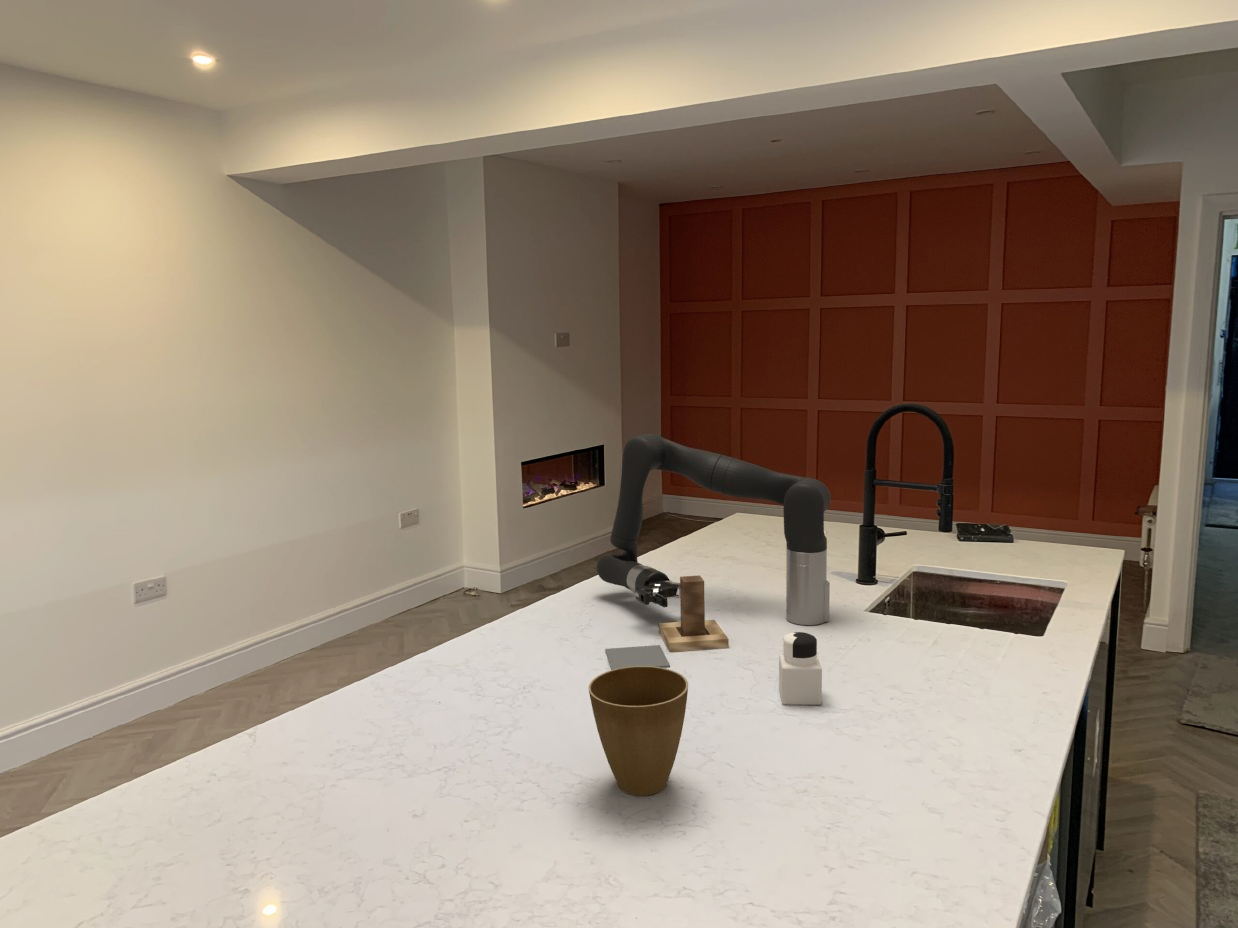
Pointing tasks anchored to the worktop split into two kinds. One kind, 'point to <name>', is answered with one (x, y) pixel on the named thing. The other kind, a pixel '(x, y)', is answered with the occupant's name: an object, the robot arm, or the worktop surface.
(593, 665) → the worktop surface
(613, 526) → the robot arm
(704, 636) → the oak socket
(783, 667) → the medicine bottle
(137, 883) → the worktop surface
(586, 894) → the worktop surface
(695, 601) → the walnut post
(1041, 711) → the worktop surface
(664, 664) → the grey mat
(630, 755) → the plant pot
